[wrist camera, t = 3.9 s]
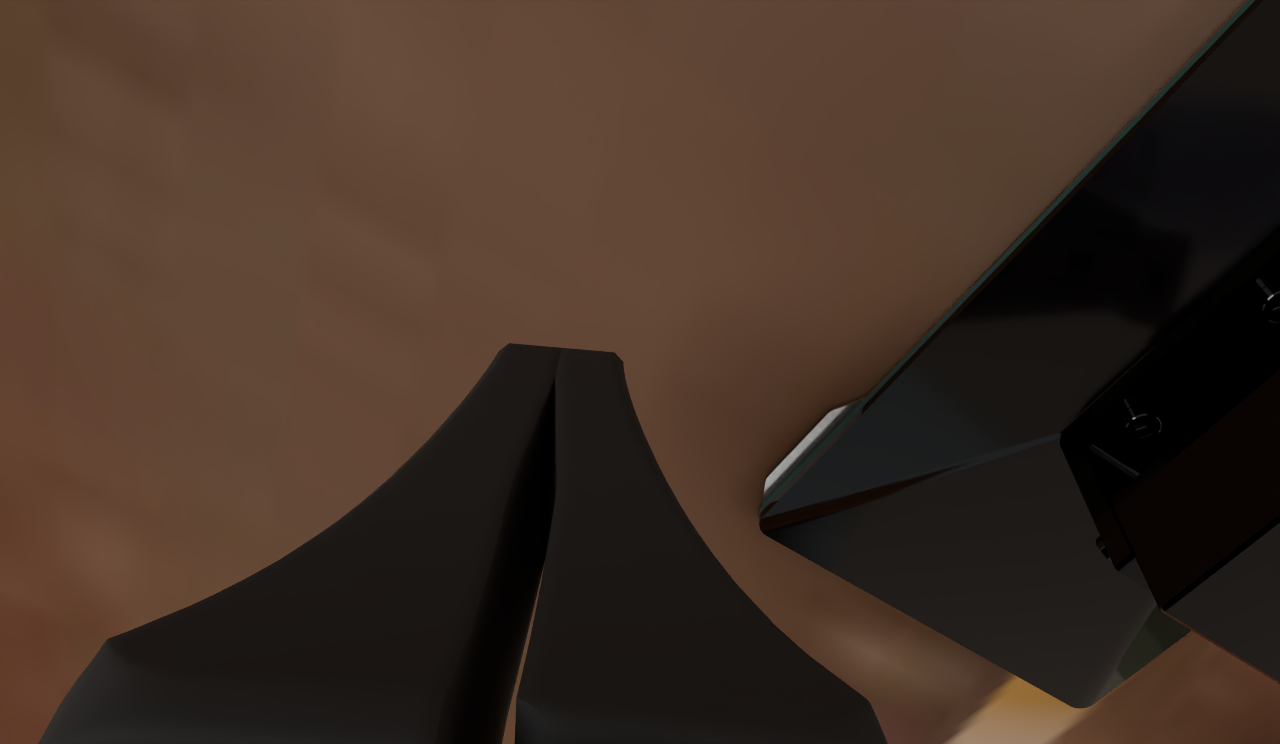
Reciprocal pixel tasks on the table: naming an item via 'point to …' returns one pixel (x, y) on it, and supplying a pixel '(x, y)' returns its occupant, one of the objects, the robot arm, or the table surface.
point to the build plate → (1088, 411)
